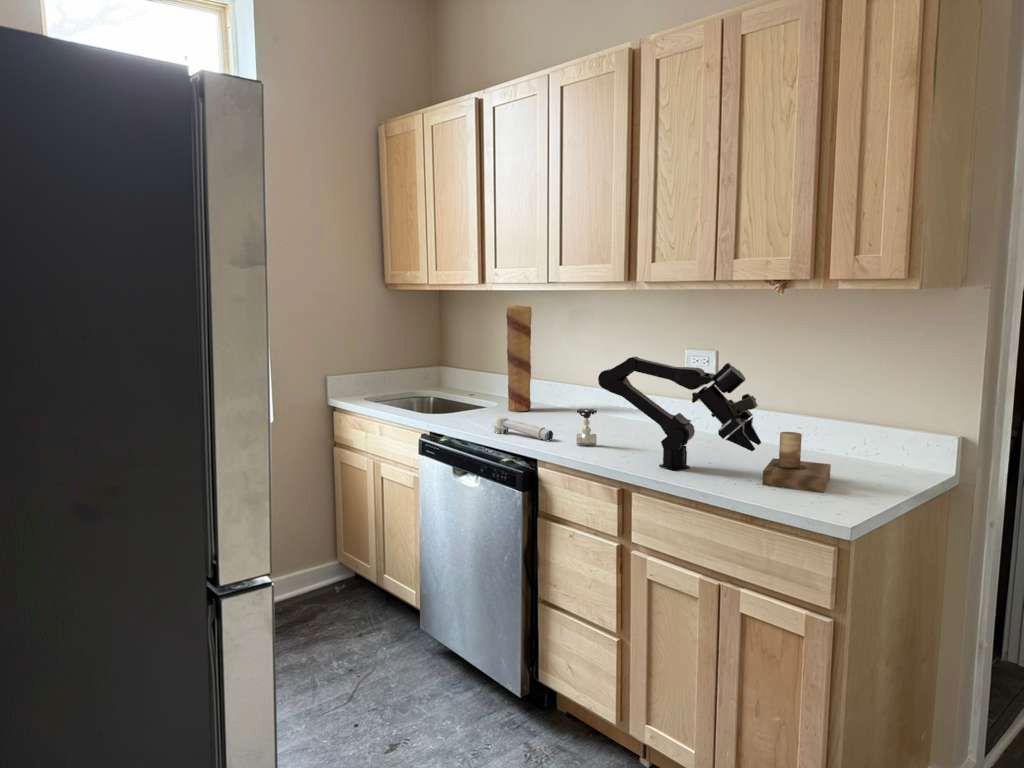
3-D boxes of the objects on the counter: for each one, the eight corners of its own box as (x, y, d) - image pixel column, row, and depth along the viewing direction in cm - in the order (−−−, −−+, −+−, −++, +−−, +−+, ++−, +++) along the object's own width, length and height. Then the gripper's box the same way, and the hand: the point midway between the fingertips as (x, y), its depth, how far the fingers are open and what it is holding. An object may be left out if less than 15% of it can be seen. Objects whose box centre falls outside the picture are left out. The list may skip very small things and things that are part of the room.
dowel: (791, 484, 191) (793, 436, 190) (773, 480, 196) (775, 433, 194) (803, 481, 194) (806, 434, 193) (786, 477, 199) (788, 431, 197)
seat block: (762, 485, 191) (763, 470, 190) (772, 472, 205) (773, 458, 204) (823, 492, 184) (824, 477, 183) (829, 478, 197) (830, 464, 197)
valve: (576, 443, 244) (576, 408, 243) (596, 443, 243) (596, 408, 242) (576, 447, 238) (576, 411, 236) (596, 447, 237) (596, 411, 235)
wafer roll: (510, 407, 318) (509, 305, 312) (533, 408, 315) (533, 305, 310) (503, 411, 308) (503, 305, 302) (527, 412, 305) (527, 305, 300)
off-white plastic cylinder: (545, 431, 246) (491, 413, 261) (543, 449, 247) (489, 431, 262) (555, 429, 250) (501, 411, 265) (552, 447, 251) (499, 429, 266)
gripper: (732, 389, 190) (774, 434, 187) (746, 381, 207) (785, 423, 203) (701, 416, 195) (741, 460, 191) (717, 406, 211) (754, 447, 208)
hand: (757, 447), depth 198 cm, fingers open, 9 cm apart
